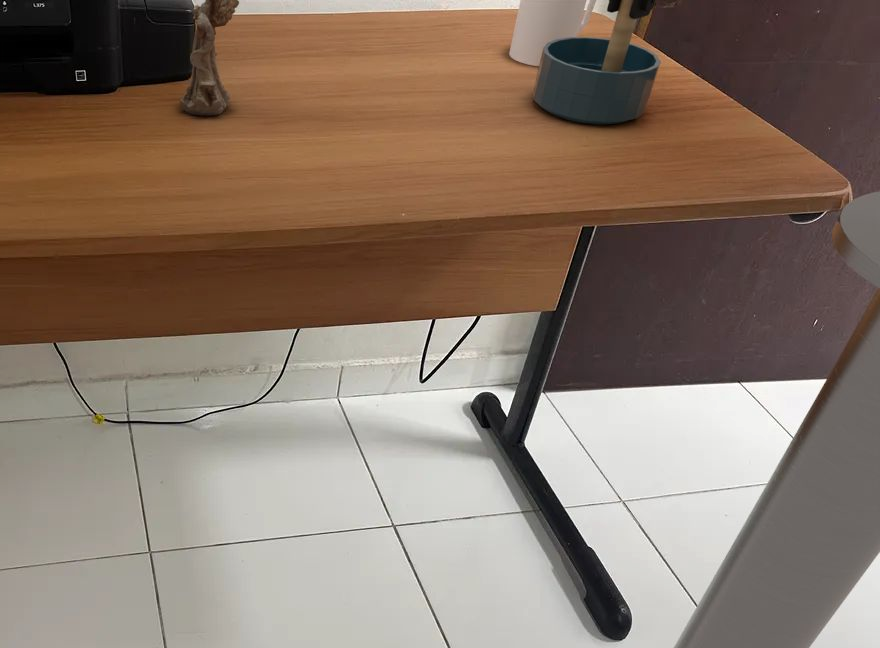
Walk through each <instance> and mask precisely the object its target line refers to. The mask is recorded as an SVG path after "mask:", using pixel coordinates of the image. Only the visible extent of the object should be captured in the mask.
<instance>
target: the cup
mask: <svg viewBox="0 0 880 648" xmlns="http://www.w3.org/2000/svg"><path fill="white" fill-rule="evenodd" d="M596 2H597V0H589V2H588V4H587V0H520V1H519V6H518V10H517V16H516V18H515V19H516V20H515V24H514V29H513V34H512V39H511V44H510V48H509V52H508V53H509V55H508V56H509V57H510V58H511V59H513V60H514V61H516V62H518V63H521V64H525V65H527V66H534V67H539V64H540V60H541V56H542V51H543V48H544V46H545V45H546V44H547V43H548V42H551V41H553V40H556V39H562V38H568V37H579V32H583V30H584V29H585V28H586V26H587V25H588V24H589V21H590V19H591V16H592V13H593V11H594V8H595V5H596ZM586 4H587V6H586ZM585 8H586V10H585Z"/></svg>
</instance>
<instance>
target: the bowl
mask: <svg viewBox="0 0 880 648" xmlns="http://www.w3.org/2000/svg"><path fill="white" fill-rule="evenodd" d="M609 41H610V38H605V37H595V36H594V37H593V36H577V37H568V38H562V39H556V40H553V41H551V42H548V43H547V44H546V45H545V46H544V48H543V51H542V56H541V60H540V64H539V66H538V69H537V73H536V78H535V81H534V86H533V90H532V95H531V96H532V99H533V101H534V102H535V103H536V104H537V105H538V106H539V107H540V108H542V109H543V110H544V111H546V112H548V113H549V114H550V115H553V116H556V117H558V118H561V119H564V120H568V121H571V122H575V123H581V124H590V125H615V124H622V123H625V122H628V121H630V120H635V119H638V118H639V117H641V116H643V115H644V113H645V111H646V109H647V106H648V103H649V100H650V97H651V94H652V90H653V86H654V84H655V81H656V77H657V75H658V72H659V68H660V66H661V59H660V57H659V55H657V54H656V53H655V52H653V51H652V50H650V49H648V48H645V47H643V46H641V45H637V44H634V43H631V42H630V43H629V47H628V50H627V53H626V57H625V60H624V64H623V67H622V70H621V72H610V71H601V70H602V66H603V63H604V59H605V56H606V52H607V49H608V45H609Z"/></svg>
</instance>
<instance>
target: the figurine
mask: <svg viewBox="0 0 880 648" xmlns="http://www.w3.org/2000/svg"><path fill="white" fill-rule="evenodd" d="M239 5H240V0H205V1H204V2H203V3H201V5H199V4H196V5H194V7H193V17H192V19H193V20H194V22H195V24H196V29H195V31H194V37H193V43H192V51H191V53H190V56H189V61H190V64H191V66H192V71H191V76H190V81H189V84H188V87H187V88H186V90H185V93H184V94H183V95H182V97H181V98H180V100H179V101H180V102H179V103H180V105H182V107H183V108H184V112H186V113H187V114H190V115H195V116H205V117H206V116H217V115H220V114H222V113H223V112H225V110H226V108H227V106H228V104H229V101H230V99H231V93H229V91H228V90H226V88H225V86H224V85H223V82H222V80H221V78H220V77H221V76H220V73H219V69H218V65H217V56H218V52H216V46H215V40H216V35H217V31H216V28H220V27H225V26H226V25H227V24H228V23H229V21H231V20H232V18H233V15H234V14H235V13H236V8H237V7H238V6H239Z"/></svg>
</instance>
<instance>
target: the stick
mask: <svg viewBox="0 0 880 648" xmlns="http://www.w3.org/2000/svg"><path fill="white" fill-rule="evenodd" d="M632 3H633V0H621V2H620V6H619V10H618V11H617V12H616V17H615V21H614V24H613V27H612V31H611V35H610V38H609V39H610V41H609V45H608V49H607V52H606V56H605V59H604V63H603V66H602V70H601V71H610V72H621V70H622V67H623V64H624V60H625V57H626V53H627V50H628V47H629V43H631V40H632V36H633V33H634V30H635V27H636V23H637V20H638V18H637V19H632V18H630V16H629V13H630V10H631V6H632Z"/></svg>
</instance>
